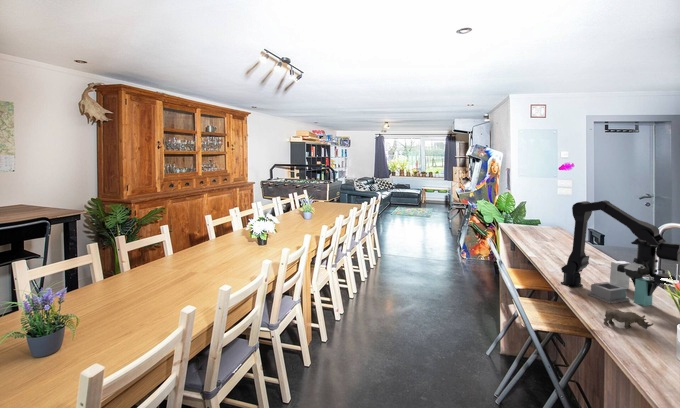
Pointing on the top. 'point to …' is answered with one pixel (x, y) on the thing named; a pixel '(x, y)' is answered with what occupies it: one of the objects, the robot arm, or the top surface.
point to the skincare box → (619, 275)
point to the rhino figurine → (625, 318)
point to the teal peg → (642, 292)
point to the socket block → (608, 292)
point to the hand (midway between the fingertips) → (643, 293)
